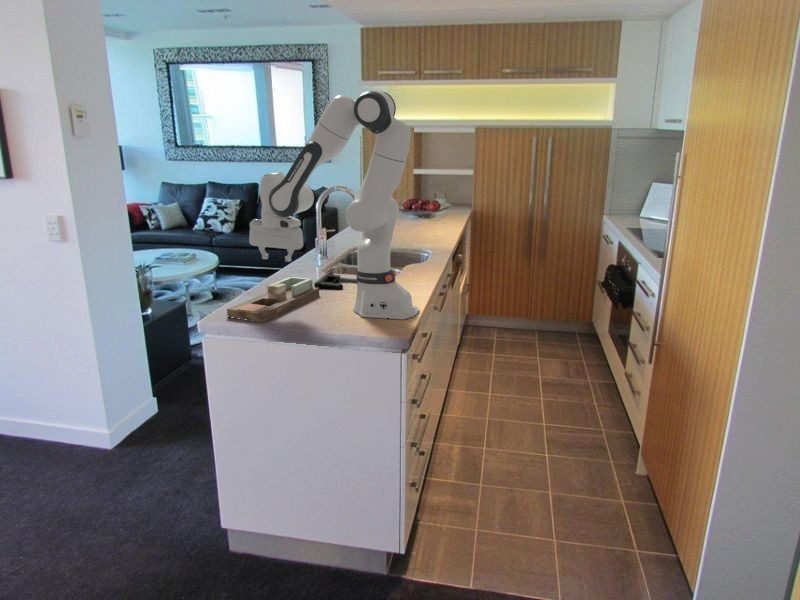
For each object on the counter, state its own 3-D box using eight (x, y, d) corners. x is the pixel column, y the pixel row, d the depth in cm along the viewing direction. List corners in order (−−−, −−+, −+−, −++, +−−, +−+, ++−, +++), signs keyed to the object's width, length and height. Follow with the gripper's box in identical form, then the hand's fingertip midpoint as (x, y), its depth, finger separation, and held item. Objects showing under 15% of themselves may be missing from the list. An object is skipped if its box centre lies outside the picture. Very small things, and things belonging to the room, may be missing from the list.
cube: (286, 296, 206) (285, 284, 205) (278, 299, 202) (278, 287, 201) (275, 295, 208) (274, 282, 207) (268, 298, 204) (267, 285, 203)
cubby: (312, 288, 218) (312, 278, 217) (295, 295, 207) (294, 286, 206) (290, 285, 221) (290, 276, 220) (272, 293, 211) (272, 283, 210)
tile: (267, 306, 194) (266, 305, 194) (254, 312, 188) (254, 311, 188) (249, 304, 196) (249, 303, 196) (236, 309, 190) (236, 308, 190)
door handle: (361, 274, 245) (324, 270, 247) (350, 285, 226) (310, 281, 228) (361, 281, 246) (324, 277, 248) (350, 293, 227) (310, 289, 229)
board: (319, 295, 219) (319, 287, 218) (263, 322, 187) (262, 313, 186) (287, 291, 224) (287, 284, 223) (227, 317, 192) (226, 309, 191)
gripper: (244, 219, 200) (246, 259, 204) (295, 223, 193) (296, 264, 196) (255, 217, 206) (257, 255, 209) (305, 221, 198) (306, 261, 202)
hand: (276, 260), depth 203 cm, fingers open, 8 cm apart
